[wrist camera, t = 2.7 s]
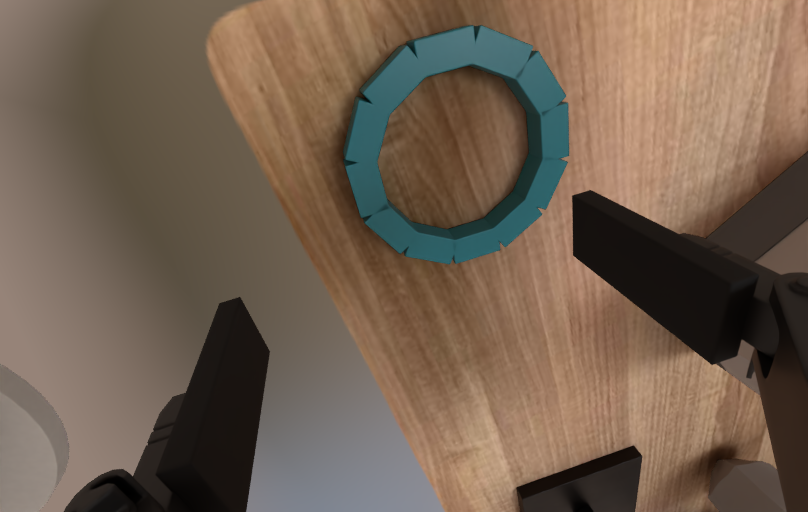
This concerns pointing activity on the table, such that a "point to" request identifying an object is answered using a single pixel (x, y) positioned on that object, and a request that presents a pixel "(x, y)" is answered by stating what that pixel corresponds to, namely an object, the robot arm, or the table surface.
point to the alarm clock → (769, 240)
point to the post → (587, 486)
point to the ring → (399, 80)
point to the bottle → (745, 487)
